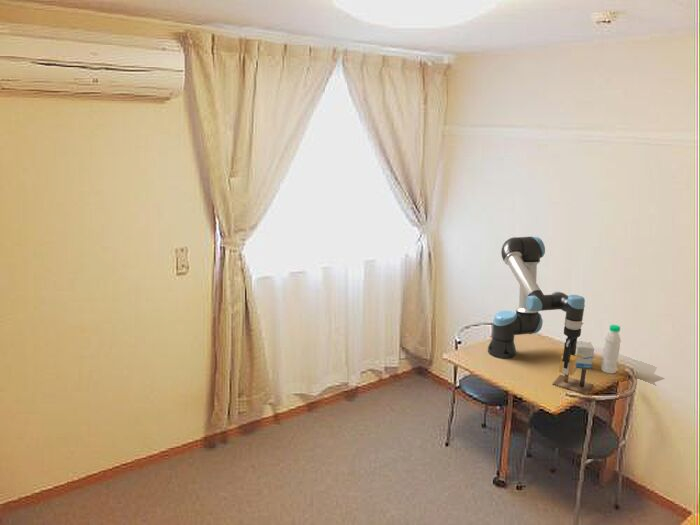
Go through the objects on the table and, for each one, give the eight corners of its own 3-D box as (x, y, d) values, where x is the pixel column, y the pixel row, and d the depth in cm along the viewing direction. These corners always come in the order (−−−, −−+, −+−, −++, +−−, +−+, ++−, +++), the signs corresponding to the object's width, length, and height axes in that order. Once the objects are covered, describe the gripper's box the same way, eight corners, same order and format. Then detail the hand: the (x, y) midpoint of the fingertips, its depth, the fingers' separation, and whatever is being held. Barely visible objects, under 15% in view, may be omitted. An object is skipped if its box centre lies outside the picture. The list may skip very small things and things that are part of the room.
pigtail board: (552, 384, 255) (554, 366, 252) (559, 376, 264) (562, 358, 261) (586, 395, 245) (589, 376, 243) (593, 385, 254) (596, 367, 252)
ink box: (591, 369, 272) (594, 348, 269) (574, 367, 274) (577, 346, 271) (588, 361, 280) (590, 341, 277) (571, 360, 282) (574, 340, 279)
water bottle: (609, 375, 265) (616, 329, 259) (597, 369, 271) (604, 324, 265) (618, 372, 268) (626, 327, 262) (606, 366, 274) (613, 322, 268)
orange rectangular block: (559, 372, 254) (560, 357, 252) (562, 367, 259) (564, 353, 257) (571, 375, 251) (573, 360, 249) (575, 371, 255) (577, 356, 253)
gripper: (575, 335, 239) (569, 380, 245) (586, 323, 254) (580, 366, 260) (558, 331, 244) (553, 376, 250) (570, 319, 258) (565, 362, 264)
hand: (567, 371), depth 255 cm, fingers closed on orange rectangular block, 6 cm apart
